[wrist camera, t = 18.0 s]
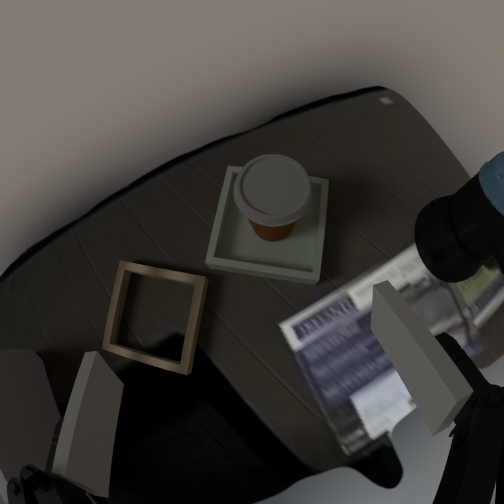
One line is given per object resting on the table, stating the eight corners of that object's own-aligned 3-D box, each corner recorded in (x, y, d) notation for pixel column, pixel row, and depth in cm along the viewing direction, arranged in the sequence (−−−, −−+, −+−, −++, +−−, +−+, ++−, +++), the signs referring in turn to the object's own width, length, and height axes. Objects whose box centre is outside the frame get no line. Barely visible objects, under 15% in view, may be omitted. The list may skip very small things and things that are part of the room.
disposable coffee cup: (300, 256, 43) (311, 227, 31) (236, 247, 44) (225, 216, 32) (306, 198, 45) (316, 156, 34) (246, 191, 46) (239, 147, 35)
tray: (325, 189, 47) (328, 179, 43) (315, 285, 42) (319, 280, 39) (230, 176, 48) (228, 165, 45) (210, 268, 44) (205, 262, 41)
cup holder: (208, 279, 44) (205, 276, 41) (191, 372, 40) (186, 374, 37) (127, 264, 45) (120, 260, 43) (109, 348, 41) (102, 348, 39)
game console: (71, 479, 34) (9, 512, 15) (24, 355, 41) (-51, 350, 22) (90, 480, 34) (27, 518, 15) (40, 349, 42) (-39, 344, 22)
